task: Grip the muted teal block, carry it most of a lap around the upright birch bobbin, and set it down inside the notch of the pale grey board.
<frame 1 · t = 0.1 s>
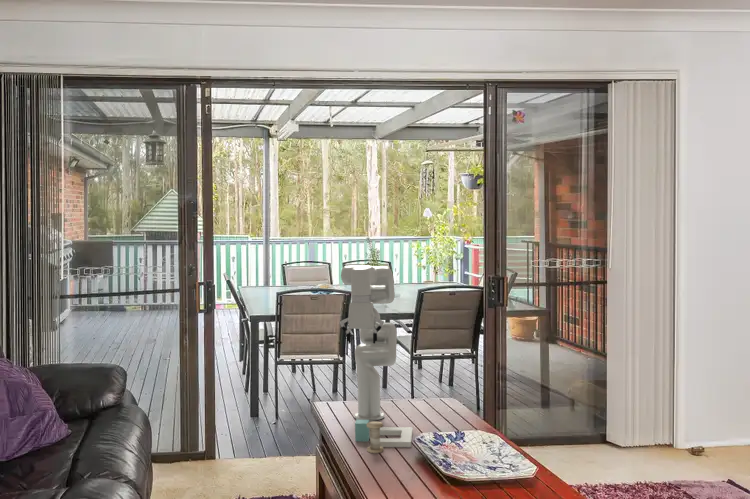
hand: (362, 342, 296), 36 cm above the table, fingers open, 9 cm apart
notched board: (393, 439, 292), on the table
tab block: (362, 439, 293), on the table
bobbin: (375, 450, 279), on the table
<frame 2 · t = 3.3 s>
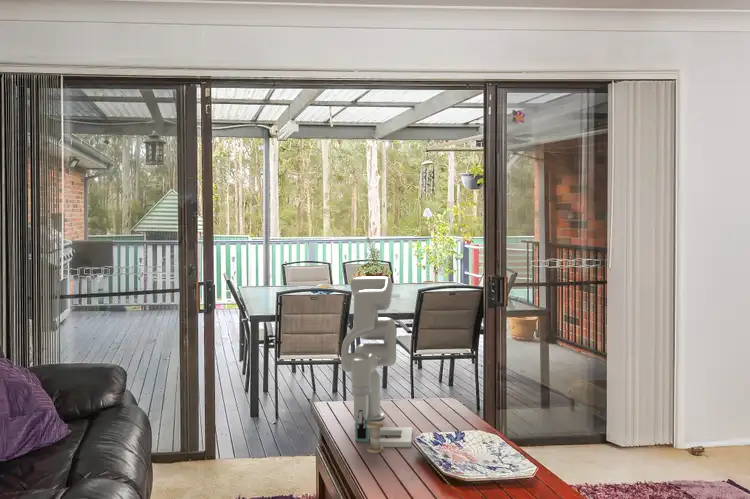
hand: (362, 435, 293), 1 cm above the table, fingers closed on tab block, 4 cm apart
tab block: (362, 439, 293), on the table, touching gripper
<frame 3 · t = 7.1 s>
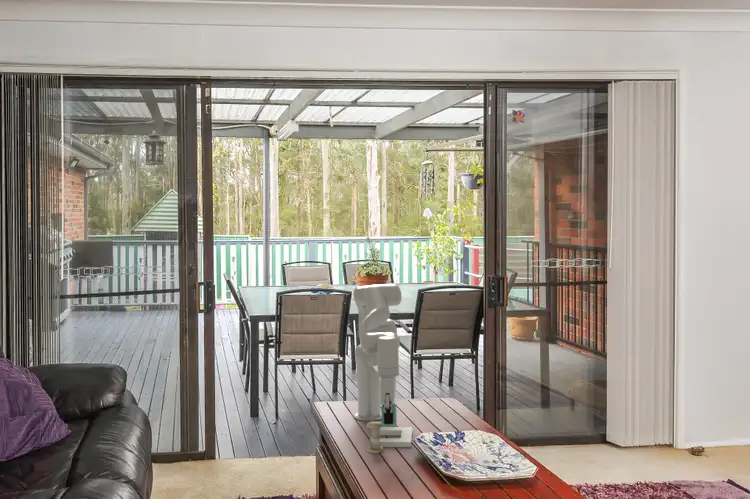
hand: (389, 420, 270), 13 cm above the table, fingers closed on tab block, 4 cm apart
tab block: (389, 424, 270), point 12 cm above the table, touching gripper
when the fingers open (3 cm above the table, at t = 11.0 s): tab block drops 2 cm, on the table.
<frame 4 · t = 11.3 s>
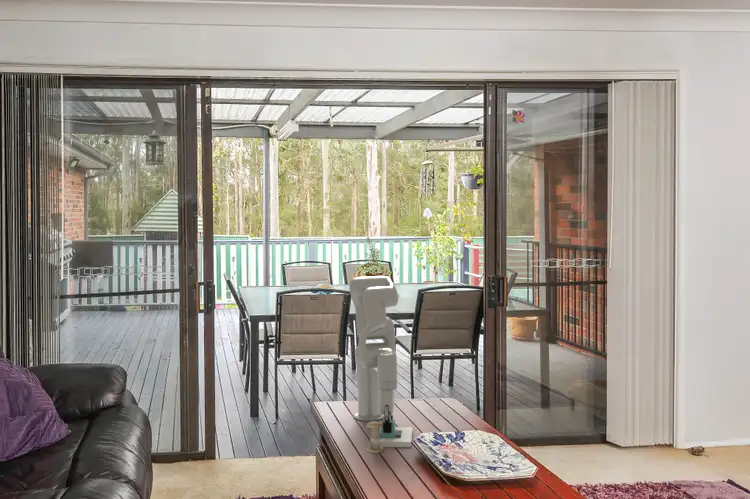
hand: (388, 428, 292), 4 cm above the table, fingers open, 8 cm apart
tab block: (388, 439, 292), on the table
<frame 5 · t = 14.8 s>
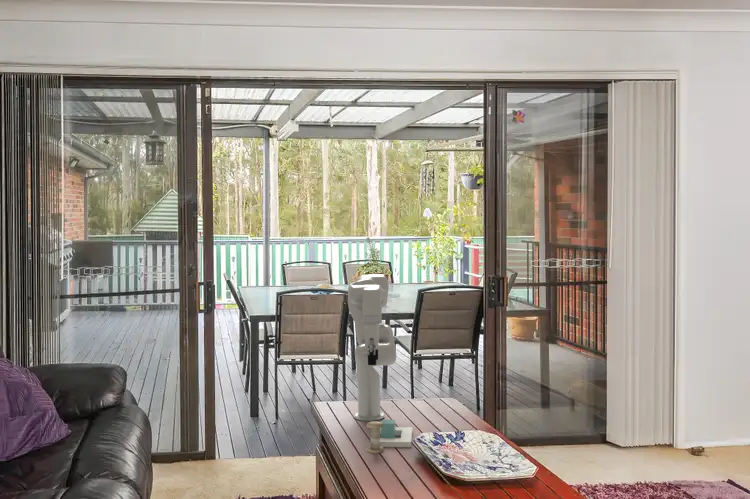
hand: (373, 362, 299), 28 cm above the table, fingers open, 9 cm apart
nothing on the table moved.
at the end: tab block 0.1 cm from the target spot on the notched board, point 0.0 cm above the notched board's base; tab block tilted 0°; the gripper is holding nothing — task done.
